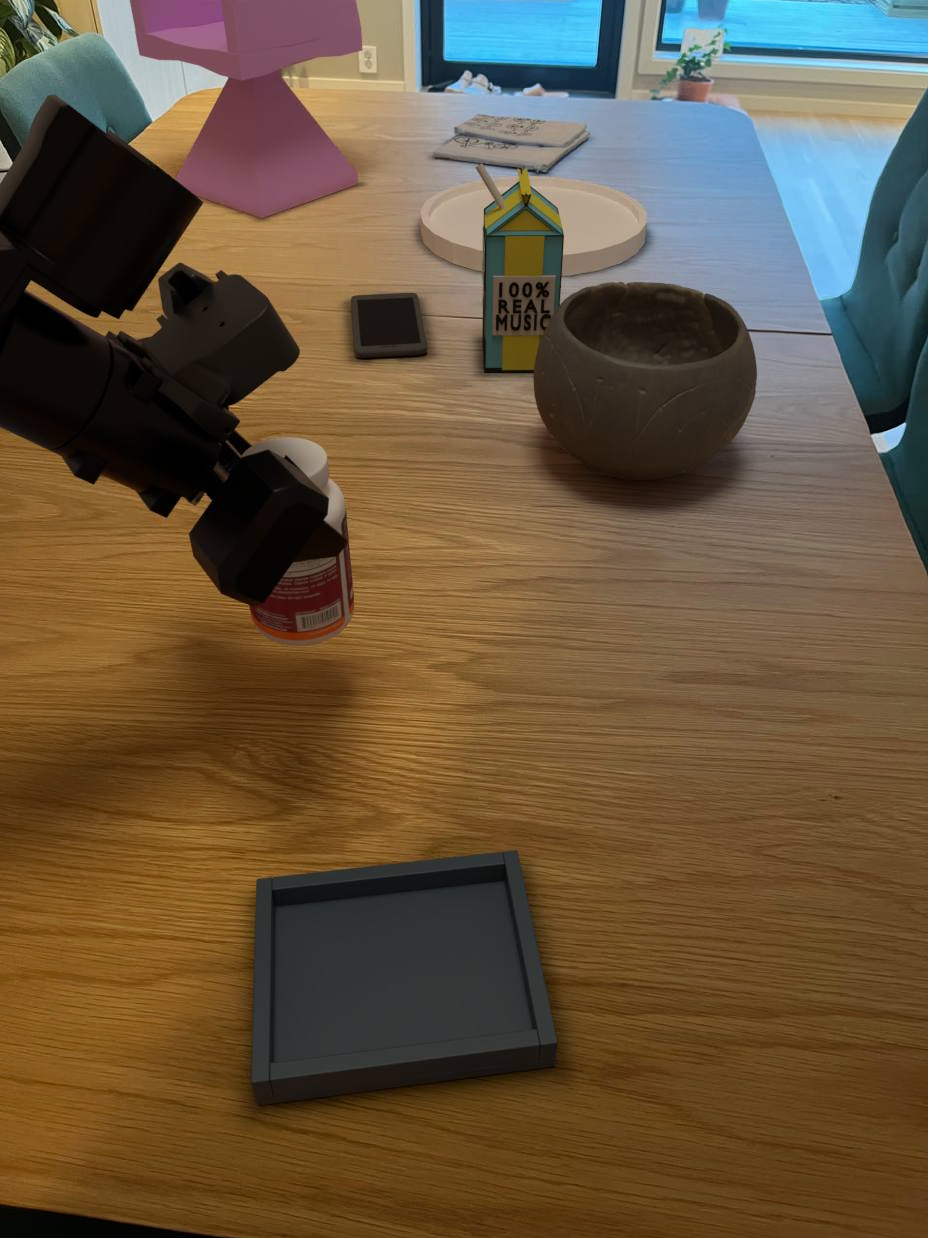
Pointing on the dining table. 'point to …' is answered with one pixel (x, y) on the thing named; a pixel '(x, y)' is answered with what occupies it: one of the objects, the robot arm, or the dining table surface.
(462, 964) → the dish
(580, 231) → the plate
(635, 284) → the bowl
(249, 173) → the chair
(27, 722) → the dining table surface
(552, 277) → the carton
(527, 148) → the folded cloth napkin
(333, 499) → the pill bottle
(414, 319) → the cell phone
